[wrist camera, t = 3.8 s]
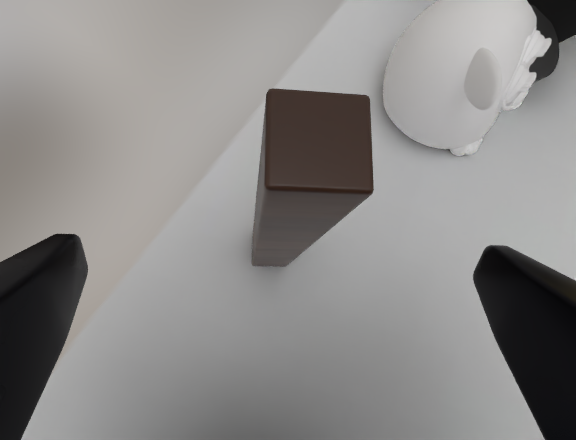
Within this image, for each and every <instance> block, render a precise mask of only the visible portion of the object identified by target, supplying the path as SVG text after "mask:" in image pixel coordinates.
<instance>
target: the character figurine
mask: <svg viewBox="0 0 576 440" xmlns="http://www.w3.org/2000/svg"><path fill="white" fill-rule="evenodd" d="M527 1H528V3H529V4H530V6H531V7H532V9H533V11H534V13H535V15H536V18H537V22H536V27H537V28H536V30H538V31H540V34H541V35H543V36H544V37H545V39H546V38H551V39H552V42H551V45H550V46H549V49H547V52H546V53H545V54H544V56H542V57H537V58H536V59H535V61H534V62H533V63H532V64H531V65H530V67H529V73H530V72H536V80H535V81H537V80H540V79H542V78H545V77H547V76H549V75H550V74H551V73H552V72H553V71H554V69H555V67H556V65H557V62H558V58H559V44H558V43H559V42H561V41H563V40H566V39H568V38H570V37H572V36H574V35H576V0H527ZM535 81H534V82H535Z"/></svg>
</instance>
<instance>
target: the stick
mask: <svg viewBox="0 0 576 440" xmlns="http://www.w3.org/2000/svg"><path fill="white" fill-rule="evenodd" d="M373 190H374V187H373V162H372V137H371V112H370V98H369V96H367V95H357V94H342V93H328V92H314V91H300V90H286V89H269V91H268V92H267V94H266V104H265V114H264V124H263V135H262V145H261V155H260V165H259V175H258V185H257V195H256V205H255V216H254V226H253V243H252V265H253V266H287V265H288V264H289V263H291V262H292V261H293V260H294V259H295V258H297V257H298V256H299V255H300V254H301V253H302V252H304V251H305V250H306V249H307V248H308V247H310V246H311V245H312V244H313V243H314V242H316V241H317V240H318V239H319V238H320V237H321V236H323V235H324V234H325V233H326V232H327V231H329V230H330V229H331V228H332V227H333V226H335V225H336V224H337V223H338V222H339V221H340V220H342V219H343V218H344V217H345V216H346V215H348V214H349V213H350V212H351V211H352V210H354V209H355V208H356V207H357V206H358V205H359V204H361V203H362V202H363V201H364V200H365V199H367V198H368V197H369V196H370V195H371V194H372V193H373Z"/></svg>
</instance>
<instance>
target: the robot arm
mask: <svg viewBox="0 0 576 440" xmlns="http://www.w3.org/2000/svg"><path fill="white" fill-rule="evenodd" d="M87 273H88V265H87V261H86V257H85V254H84V250H83V247H82V243H81V240H80V238H79V236H77V235H75V234H55V235H53V236H50V237H49V238H47V239H45V240H43V241H41V242H39V243H37V244H35V245H33V246H31V247H29V248H27V249H25V250H23V251H21V252H19V253H17V254H15V255H13V256H12V257H10V258H8V259H6V260H4V261H2V262H0V440H21V438H22V436H23V434H24V431H25V429H26V427H27V425H28V423H29V421H30V418H31V416H32V414H33V412H34V410H35V407H36V405H37V403H38V401H39V399H40V397H41V394H42V392H43V390H44V388H45V386H46V383H47V381H48V379H49V377H50V375H51V373H52V370H53V368H54V366H55V364H56V362H57V360H58V357H59V355H60V353H61V351H62V348H63V346H64V344H65V341H66V339H67V336H68V333H69V330H70V327H71V324H72V321H73V318H74V315H75V312H76V308H77V305H78V303H79V299H80V296H81V293H82V290H83V287H84V284H85V281H86V277H87ZM473 280H474V284H475V287H476V289H477V292H478V295H479V297H480V300H481V303H482V305H483V308H484V311H485V313H486V316H487V319H488V321H489V324H490V327H491V329H492V332H493V334H494V337H495V339H496V341H497V344H498V346H499V348H500V350H501V352H502V354H503V356H504V358H505V360H506V362H507V364H508V366H509V368H510V370H511V372H512V374H513V376H514V378H515V380H516V382H517V384H518V386H519V388H520V390H521V392H522V394H523V396H524V398H525V400H526V402H527V404H528V406H529V408H530V410H531V412H532V414H533V416H534V418H535V420H536V422H537V424H538V426H539V428H540V431H541V433H542V435H543V437H544V439H545V440H576V281H575V280H573V279H571V278H569V277H567V276H565V275H563V274H561V273H559V272H557V271H555V270H553V269H551V268H549V267H547V266H545V265H543V264H542V263H540V262H538V261H536V260H534V259H532V258H530V257H528V256H526V255H524V254H522V253H520V252H518V251H516V250H514V249H512V248H510V247H508V246H499V245H490V246H488V247H486V248H485V250H484V251H483V253H482V256H481V258H480V260H479V262H478V264H477V266H476V268H475V271H474V274H473Z"/></svg>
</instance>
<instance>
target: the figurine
mask: <svg viewBox="0 0 576 440" xmlns="http://www.w3.org/2000/svg"><path fill="white" fill-rule="evenodd" d="M536 22H537V18H536V15H535V13H534V11H533V9H532V7H531V6H530V4H529V3H528V1H527V0H438V1H437V2H435V3H434V4H432V5H431V6H430V7H428V8H427V9H426V10H424V11H423V12H422V13H421V14H420V15H418V16H417V17H416V18H415V19H414V20H413V21H412V22H411V24H410V25H409V26H408V27H407V28H406V29H405V31H404V32H403V33H402V35H401V36H400V38H399V39H398V41H397V43H396V45H395V47H394V49H393V51H392V53H391V55H390V58H389V60H388V63H387V67H386V71H385V76H384V83H383V103H384V107H385V110H386V113H387V114H388V116H389V118H390V119H391V120H392V122H393V123H394V124H395V125H396V126H397V127H398V128H399V129H400V130H401V131H402V132H403V133H404V134H405V135H407V136H408V137H410V138H411V139H413V140H415V141H417V142H419V143H421V144H423V145H426V146H429V147H433V148H439V149H450V151H451V153H452V154H454V155H456V156H462V155H464V154H466V155H472V154H475V153H476V152H477V151H478V149H479V147H480V144H481V143H482V141H483V136H484V135H485V134H486V133H487V132H488V131H489V130H490V128H491V127H492V126H493V124H494V123H495V121H496V120H497V118H498V116H499V114H500V112H501V111H510V110H514V109H516V108H518V107H519V106H521V104H522V103H523V100H524V98H525V97H526V95H527V94H528V91H529V88H530V87H531V86H532V84H533V83H534V81H535V80H536V72H530V73H529V67H530V65H531V64H532V63H533V62H534V61H535V59H536V58H537V57H542V56H544V54H545V53H546V52H547V49H549V46H550V45H551V42H552V39H551V38H546V39H545V37H544V36H543V35H541V34H540V31H538V30H536V28H537V27H536Z"/></svg>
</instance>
